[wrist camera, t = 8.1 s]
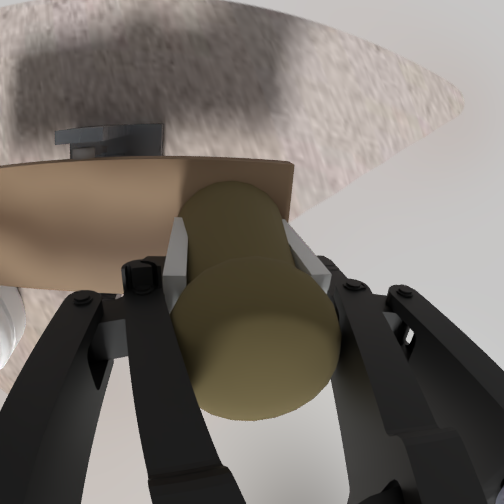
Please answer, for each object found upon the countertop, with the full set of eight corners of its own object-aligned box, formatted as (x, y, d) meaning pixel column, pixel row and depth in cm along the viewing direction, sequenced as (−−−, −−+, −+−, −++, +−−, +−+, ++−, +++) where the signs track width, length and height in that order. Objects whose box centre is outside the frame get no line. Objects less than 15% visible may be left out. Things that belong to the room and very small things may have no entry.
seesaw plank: (-43, 163, 15) (-60, 169, 13) (286, 150, 18) (295, 153, 16) (-25, 275, 19) (-38, 288, 17) (271, 287, 22) (277, 305, 20)
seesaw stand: (74, 128, 23) (20, 135, 14) (163, 123, 25) (147, 124, 16) (81, 252, 27) (43, 309, 18) (162, 252, 29) (152, 313, 20)
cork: (196, 164, 16) (180, 245, 6) (301, 203, 18) (412, 316, 8) (161, 265, 18) (127, 426, 8) (258, 295, 20) (306, 451, 10)
